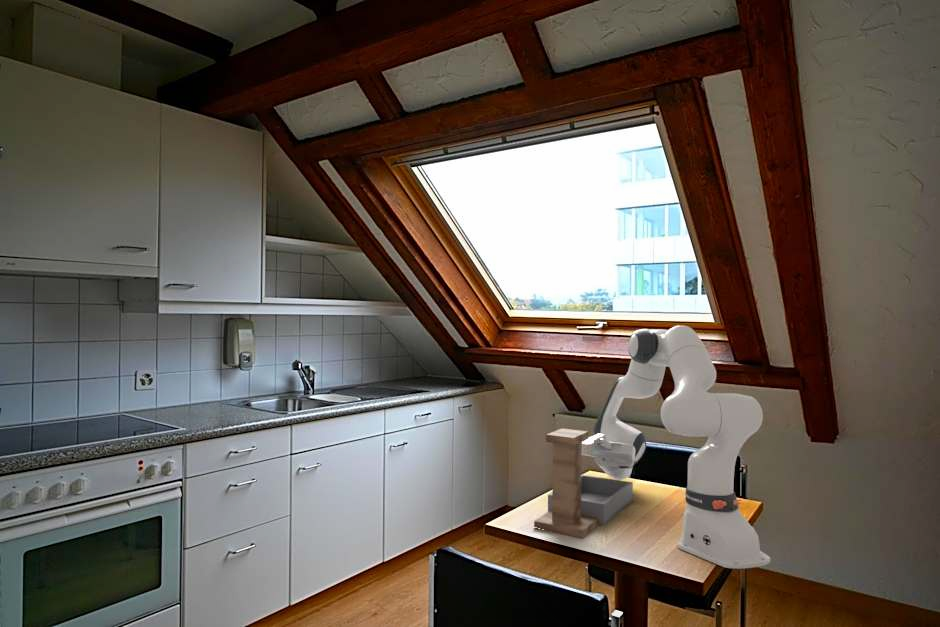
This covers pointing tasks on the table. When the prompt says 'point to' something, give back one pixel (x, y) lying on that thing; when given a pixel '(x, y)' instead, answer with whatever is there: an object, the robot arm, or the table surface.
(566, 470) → the stand
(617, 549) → the table surface
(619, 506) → the parts tray
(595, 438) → the white bar
